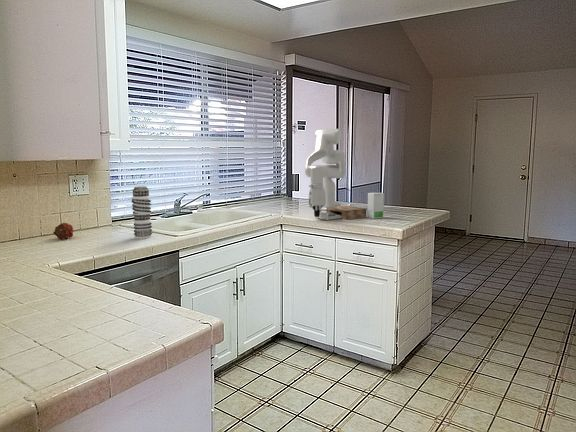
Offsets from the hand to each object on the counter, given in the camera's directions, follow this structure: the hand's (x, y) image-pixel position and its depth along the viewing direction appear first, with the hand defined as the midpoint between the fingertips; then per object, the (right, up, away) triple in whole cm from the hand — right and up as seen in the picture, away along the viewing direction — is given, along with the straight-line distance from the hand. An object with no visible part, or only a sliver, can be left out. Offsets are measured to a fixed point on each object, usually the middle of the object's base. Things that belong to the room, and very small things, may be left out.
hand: (316, 216), depth 278 cm
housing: (+19, 0, +11) cm, 22 cm away
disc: (+8, 0, +5) cm, 9 cm away
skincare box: (+37, -1, +5) cm, 37 cm away
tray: (+9, -1, +5) cm, 10 cm away
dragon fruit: (-128, -11, -53) cm, 139 cm away
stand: (+2, +1, +17) cm, 17 cm away
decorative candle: (-90, -10, -52) cm, 104 cm away
